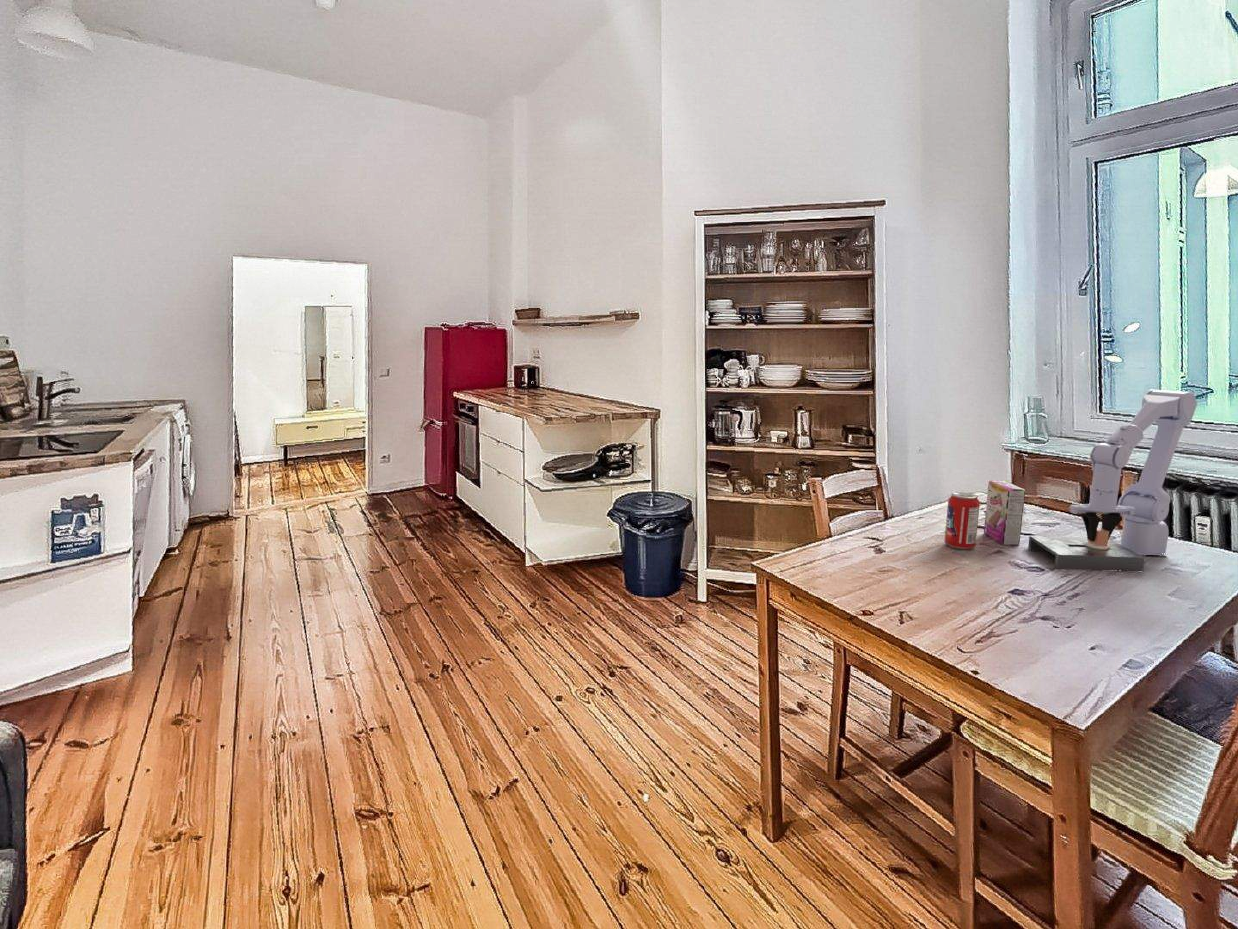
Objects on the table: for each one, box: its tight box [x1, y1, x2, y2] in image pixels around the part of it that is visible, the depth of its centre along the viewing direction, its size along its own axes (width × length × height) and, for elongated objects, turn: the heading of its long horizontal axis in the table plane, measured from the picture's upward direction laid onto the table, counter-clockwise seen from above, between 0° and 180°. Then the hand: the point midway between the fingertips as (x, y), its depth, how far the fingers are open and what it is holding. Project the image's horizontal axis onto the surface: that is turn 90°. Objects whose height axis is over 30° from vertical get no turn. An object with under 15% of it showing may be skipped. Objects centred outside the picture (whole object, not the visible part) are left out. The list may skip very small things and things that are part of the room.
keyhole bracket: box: [1027, 535, 1146, 572], centre depth 176 cm, size 20×16×4 cm
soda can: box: [943, 491, 981, 551], centre depth 187 cm, size 8×8×15 cm
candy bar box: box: [983, 480, 1026, 546], centre depth 193 cm, size 11×5×16 cm, turn 179°
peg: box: [1085, 526, 1110, 550], centre depth 175 cm, size 5×5×7 cm
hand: (1097, 540), depth 175 cm, fingers closed on peg, 3 cm apart
